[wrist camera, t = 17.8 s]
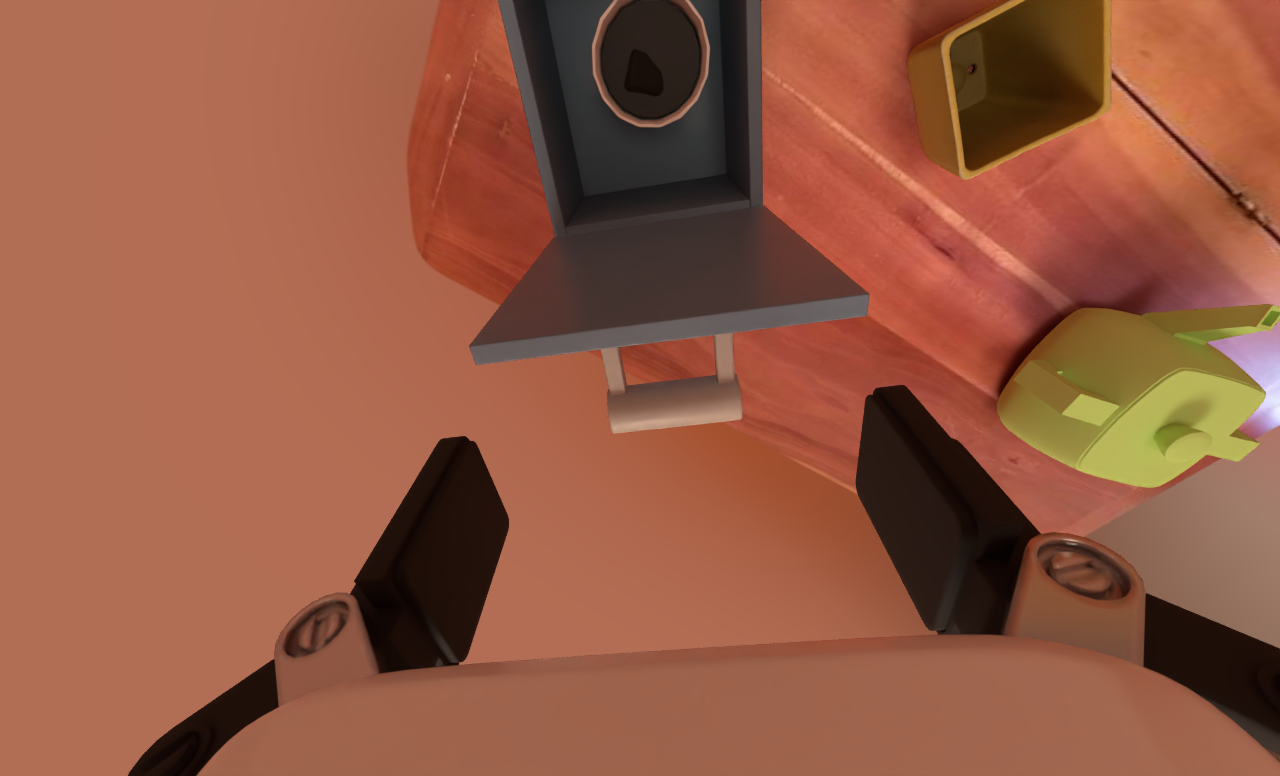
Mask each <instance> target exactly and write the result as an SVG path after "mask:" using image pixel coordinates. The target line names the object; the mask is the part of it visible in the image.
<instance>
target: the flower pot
mask: <svg viewBox="0 0 1280 776" xmlns="http://www.w3.org/2000/svg"><path fill="white" fill-rule="evenodd" d="M1111 23H1112V0H999V1H998V2H996V3H994V4H992V5H990V6H989V7H987V8H985V9H983V10H981V11H980V12H978V13H976V14H974V15H972V16H970V17H969V18H967V19H965V20H963V21H961V22H959V23H957V24H956V25H954V26H952V27H950V28H948V29H946V30H944V31H943V32H941V33H939V34H937V35H935V36H933V37H931V38H929V39H927V40H925V41H924V42H922V43H920V44H919V45H917V46H916V47H914V48H913V49H912V50H911V52H910V53H909V55H908V58H907V71H908V76H909V82H910V87H911V93H912V98H913V103H914V109H915V114H916V120H917V126H918V132H919V138H920V142H921V145H922V148H923V151H924V152H925V154H926V156H927V157H928V158H929V159H930V160H931V161H932V162H933V163H935V164H937V165H938V166H940V167H942V168H943V169H945V170H947V171H949V172H951V173H952V174H954V175H956V176H958V177H960V178H961V179H964V180H967V179H970V178H973V177H975V176H977V175H979V174H981V173H983V172H985V171H987V170H989V169H991V168H993V167H995V166H997V165H999V164H1001V163H1003V162H1005V161H1007V160H1009V159H1011V158H1013V157H1015V156H1017V155H1019V154H1021V153H1024V152H1026V151H1028V150H1030V149H1032V148H1034V147H1036V146H1038V145H1041V144H1043V143H1045V142H1047V141H1050V140H1052V139H1054V138H1056V137H1058V136H1061V135H1063V134H1065V133H1067V132H1070V131H1072V130H1074V129H1076V128H1078V127H1081V126H1083V125H1086V124H1088V123H1090V122H1092V121H1094V120H1096V119H1098V118H1100V117H1101V116H1103V115H1104V114H1106V113H1107V112H1108V111H1109V110H1110V107H1111V99H1112V96H1111V94H1112V91H1111V76H1112V74H1111ZM970 65H974V66H975V70H974V72H973V73H972V74H968V72H967V70H968V68H969V66H970Z"/></svg>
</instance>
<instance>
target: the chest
mask: <svg viewBox="0 0 1280 776" xmlns="http://www.w3.org/2000/svg"><path fill="white" fill-rule="evenodd" d="M613 1H614V0H498V3H499V7H500V11H501V15H502V19H503V23H504V28H505V32H506V36H507V40H508V44H509V48H510V52H511V56H512V61H513V65H514V69H515V73H516V77H517V81H518V85H519V89H520V93H521V98H522V102H523V106H524V110H525V114H526V118H527V122H528V126H529V131H530V135H531V139H532V143H533V147H534V151H535V155H536V159H537V164H538V168H539V172H540V176H541V180H542V184H543V188H544V192H545V197H546V201H547V205H548V209H549V213H550V217H551V221H552V225H553V230H554V234H555V237H559V236H566V235H573V234H579V233H586V232H592V231H599V230H606V229H612V228H619V227H626V226H632V225H639V224H646V223H652V222H659V221H666V220H672V219H679V218H686V217H692V216H699V215H706V214H712V213H719V212H725V211H732V210H739V209H745V208H752V207H759V206H763V173H762V57H761V0H689V1H690V2H691V4H692V5H693V6H694V8H695V9H696V10H697V12H698V13H699V15H700V16H701V17H702V19H703V22H704V26H705V29H706V33H707V37H708V41H709V45H710V55H709V69H708V76H707V79H706V81H705V84H704V86H703V88H702V91H701V93H700V95H699V98H698V100H697V101H696V102H695V103H694V104H693V105H692V107H691V108H690V109H689V110H688V111H687V112H686V113H685V114H684V115H683V116H682V117H681V118H680V119H678V120H675V121H673V122H671V123H669V124H667V125H664V126H662V127H638V126H636V125H633V124H631V123H629V122H627V121H625V120H623V119H621V118H619V117H618V116H617V115H616V114H615V113H614V111H613V110H612V109H611V108H610V107H609V106H608V105H607V103H606V102H605V101H604V100H603V99H602V96H601V94H600V91H599V88H598V86H597V83H596V80H595V78H594V75H593V59H592V44H593V41H594V37H595V34H596V31H597V27H598V24H599V21H600V18H601V17H602V15H603V14H604V13H605V11H606V10H607V9H608V7H609V6H610V5H611V4H612V2H613Z"/></svg>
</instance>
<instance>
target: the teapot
mask: <svg viewBox="0 0 1280 776" xmlns="http://www.w3.org/2000/svg"><path fill="white" fill-rule="evenodd" d="M1279 320H1280V307H1278V306H1275V305H1270V304H1262V305H1248V306H1235V307H1221V308H1207V309H1194V310H1180V311H1166V312H1152V313H1145V314H1143V315H1142V316H1140V315H1136V314H1132V313H1128V312H1123V311H1118V310H1112V309H1106V308H1082V309H1078V310H1077V311H1075V312H1073V313H1071V314H1070V315H1069V316H1067V317H1066V318H1065V319H1064V320H1063V321H1062V322H1060V323H1059V324H1058V325H1057V326H1056V327H1055V328H1054V329H1053V330H1052V331H1051V332H1050V333H1049V334H1048V335H1047V336H1046V337H1045V338H1044V339H1043V340H1042V341H1041V342H1040V343H1039V344H1038V345H1037V346H1036V347H1035V348H1034V349H1033V350H1032V351H1031V352H1030V354H1029V355H1028V356H1027V357H1026V358H1025V359H1024V361H1023V362H1022V363H1021V365H1020V366H1019V367H1018V369H1017V370H1016V371H1015V373H1014V374H1013V376H1012V377H1011V379H1010V380H1009V382H1008V383H1007V385H1006V387H1005V388H1004V390H1003V391H1002V393H1001V395H1000V397H999V399H998V402H997V411H998V414H999V417H1000V420H1001V422H1002V423H1003V425H1004V426H1005V427H1007V428H1008V429H1009V430H1010V431H1011V432H1012V433H1014V434H1015V435H1016V436H1018V437H1019V438H1021V439H1022V440H1023V441H1025V442H1026V443H1028V444H1029V445H1031V446H1032V447H1034V448H1035V449H1037V450H1039V451H1041V452H1042V453H1044V454H1046V455H1048V456H1050V457H1052V458H1054V459H1056V460H1058V461H1060V462H1062V463H1064V464H1066V465H1068V466H1070V467H1073V468H1075V469H1077V470H1079V471H1082V472H1084V473H1087V474H1090V475H1094V476H1097V477H1101V478H1105V479H1109V480H1113V481H1117V482H1121V483H1125V484H1129V485H1135V486H1140V487H1153V488H1154V487H1158V486H1160V485H1163V484H1165V483H1166V482H1168V481H1170V480H1172V479H1173V478H1175V477H1176V476H1178V475H1179V474H1181V473H1182V472H1184V471H1185V470H1187V469H1188V468H1189V467H1191V466H1192V465H1193V464H1195V463H1196V462H1198V461H1199V460H1200V459H1202V458H1203V457H1204V456H1205V455H1211V456H1215V457H1220V458H1224V459H1229V460H1233V461H1237V462H1238V461H1240V460H1241V459H1242V458H1243V457H1245V456H1246V455H1247V454H1248V453H1250V452H1251V451H1252V450H1253V449H1255V448H1256V447H1257V446H1258V445H1259V444H1260V443H1259V442H1257V441H1256V440H1254V439H1252V438H1251V437H1249V436H1248V435H1246V434H1244V433H1243V432H1241V431H1239V430H1238V429H1237V428H1238V427H1240V426H1241V425H1242V424H1243V423H1244V422H1245V421H1246V420H1247V419H1248V418H1249V417H1250V416H1251V415H1252V414H1253V413H1254V412H1255V411H1256V410H1257V409H1258V407H1259V406H1260V405H1261V404H1262V402H1263V401H1264V399H1265V395H1266V392H1265V391H1264V390H1263V389H1262V388H1261V387H1260V385H1259V384H1258V383H1257V382H1256V381H1254V380H1253V379H1252V378H1251V377H1250V376H1249V375H1248V374H1247V373H1246V372H1245V371H1244V370H1243V369H1241V368H1240V367H1239V366H1238V365H1237V364H1236V363H1235V362H1233V361H1232V360H1231V359H1230V358H1229V357H1227V356H1226V355H1225V354H1223V353H1222V352H1220V351H1219V350H1217V349H1216V348H1214V347H1213V346H1211V345H1209V344H1208V343H1207V342H1209V341H1214V340H1219V339H1224V338H1229V337H1234V336H1239V335H1244V334H1249V333H1254V332H1259V331H1264V330H1266V331H1271V330H1272V329H1273V328H1274V326H1275V325H1276V324H1277V323H1278V321H1279Z"/></svg>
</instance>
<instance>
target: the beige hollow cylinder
mask: <svg viewBox="0 0 1280 776" xmlns="http://www.w3.org/2000/svg"><path fill="white" fill-rule="evenodd" d="M709 55H710V45H709V41H708V37H707V33H706V29H705V26H704V22H703V19H702V17H701V16H700V15H699V13H698V12H697V10H696V9H695V8H694V6H693V5H692V4H691V2H690V1H689V0H614V1H613V2H612V4H611V5H610V6H609V7H608V9H607V10H606V11H605V13H604V14H603V15H602V17H601V18H600V21H599V24H598V27H597V31H596V34H595V37H594V41H593V44H592V59H593V75H594V78H595V80H596V83H597V86H598V88H599V91H600V94H601V96H602V99H603V100H604V101H605V102H606V103H607V105H608V106H609V107H610V108H611V109H612V110H613V111H614V113H615V114H616V115H617V116H618V117H619V118H621V119H623V120H625V121H627V122H629V123H631V124H633V125H636V126H638V127H662V126H664V125H667V124H669V123H671V122H673V121H675V120H678V119H680V118H681V117H682V116H683V115H684V114H685V113H686V112H687V111H688V110H689V109H690V108H691V107H692V105H693V104H694V103H695V102H696V101H697V100H698V98H699V95H700V93H701V91H702V88H703V86H704V84H705V81H706V79H707V76H708V69H709Z"/></svg>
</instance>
